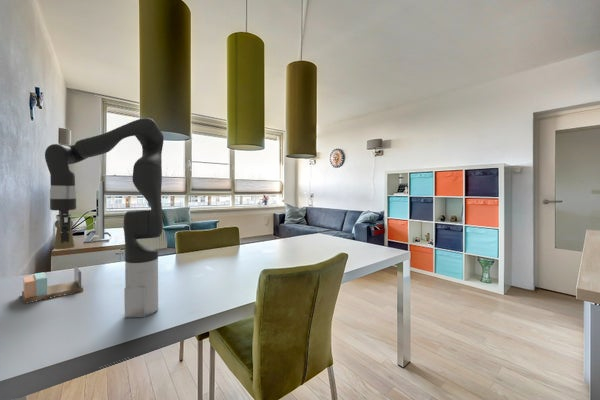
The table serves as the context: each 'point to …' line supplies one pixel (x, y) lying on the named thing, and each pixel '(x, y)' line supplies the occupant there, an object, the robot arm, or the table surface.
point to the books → (35, 285)
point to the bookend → (77, 276)
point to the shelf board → (55, 291)
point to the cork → (58, 238)
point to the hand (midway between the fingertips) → (64, 241)
